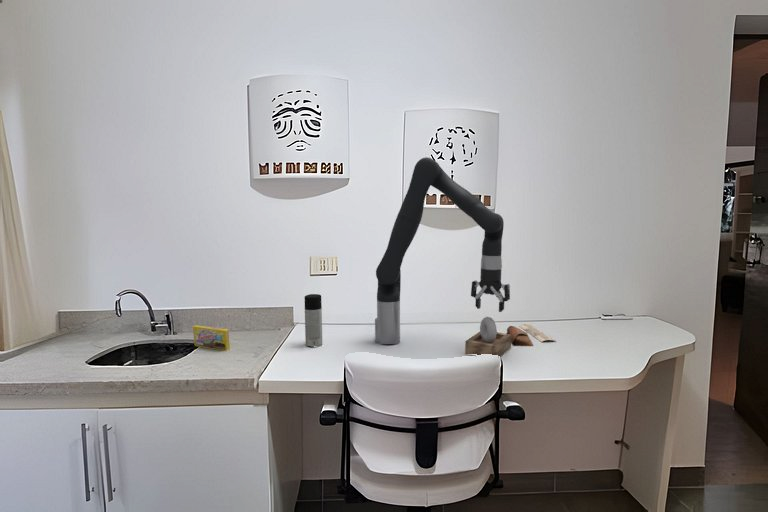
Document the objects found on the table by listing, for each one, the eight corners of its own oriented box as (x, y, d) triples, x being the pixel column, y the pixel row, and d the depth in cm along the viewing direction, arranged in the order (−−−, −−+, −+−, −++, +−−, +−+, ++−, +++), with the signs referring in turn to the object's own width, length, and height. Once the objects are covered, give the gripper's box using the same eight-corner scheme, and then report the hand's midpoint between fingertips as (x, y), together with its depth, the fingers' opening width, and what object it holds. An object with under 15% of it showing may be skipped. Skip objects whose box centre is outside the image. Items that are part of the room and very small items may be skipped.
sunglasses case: (535, 346, 175) (526, 331, 175) (519, 354, 176) (510, 340, 176) (526, 333, 193) (518, 319, 192) (512, 340, 194) (504, 327, 193)
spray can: (325, 343, 180) (324, 294, 177) (316, 348, 173) (315, 297, 171) (311, 341, 182) (310, 293, 180) (302, 346, 176) (300, 296, 174)
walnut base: (465, 354, 166) (465, 341, 166) (481, 342, 181) (481, 329, 180) (496, 360, 160) (497, 346, 159) (511, 347, 174) (511, 334, 174)
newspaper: (555, 343, 180) (556, 339, 180) (538, 344, 180) (539, 340, 180) (531, 327, 204) (531, 323, 204) (516, 328, 203) (516, 324, 203)
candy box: (193, 346, 177) (192, 326, 176) (197, 345, 179) (196, 324, 178) (226, 351, 171) (225, 330, 170) (230, 349, 173) (229, 328, 172)
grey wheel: (498, 346, 166) (498, 320, 164) (489, 347, 165) (490, 320, 164) (486, 338, 175) (487, 313, 174) (478, 339, 175) (478, 314, 173)
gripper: (469, 266, 167) (467, 309, 169) (506, 270, 159) (505, 314, 161) (476, 264, 173) (475, 305, 175) (513, 267, 166) (511, 310, 168)
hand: (489, 309), depth 168 cm, fingers open, 8 cm apart
